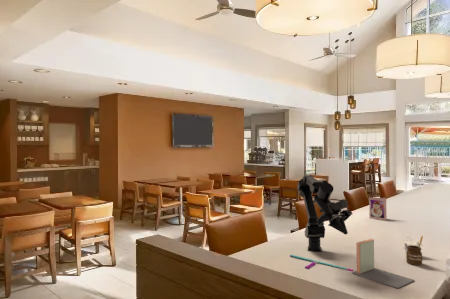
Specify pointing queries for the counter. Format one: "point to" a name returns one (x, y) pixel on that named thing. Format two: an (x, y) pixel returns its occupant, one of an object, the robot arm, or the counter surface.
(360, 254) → the ceramic tile
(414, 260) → the utensil holder
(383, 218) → the greeting card
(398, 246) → the counter surface
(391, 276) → the rubber mat
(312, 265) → the squeegee
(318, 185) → the robot arm
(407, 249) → the elephant figurine
